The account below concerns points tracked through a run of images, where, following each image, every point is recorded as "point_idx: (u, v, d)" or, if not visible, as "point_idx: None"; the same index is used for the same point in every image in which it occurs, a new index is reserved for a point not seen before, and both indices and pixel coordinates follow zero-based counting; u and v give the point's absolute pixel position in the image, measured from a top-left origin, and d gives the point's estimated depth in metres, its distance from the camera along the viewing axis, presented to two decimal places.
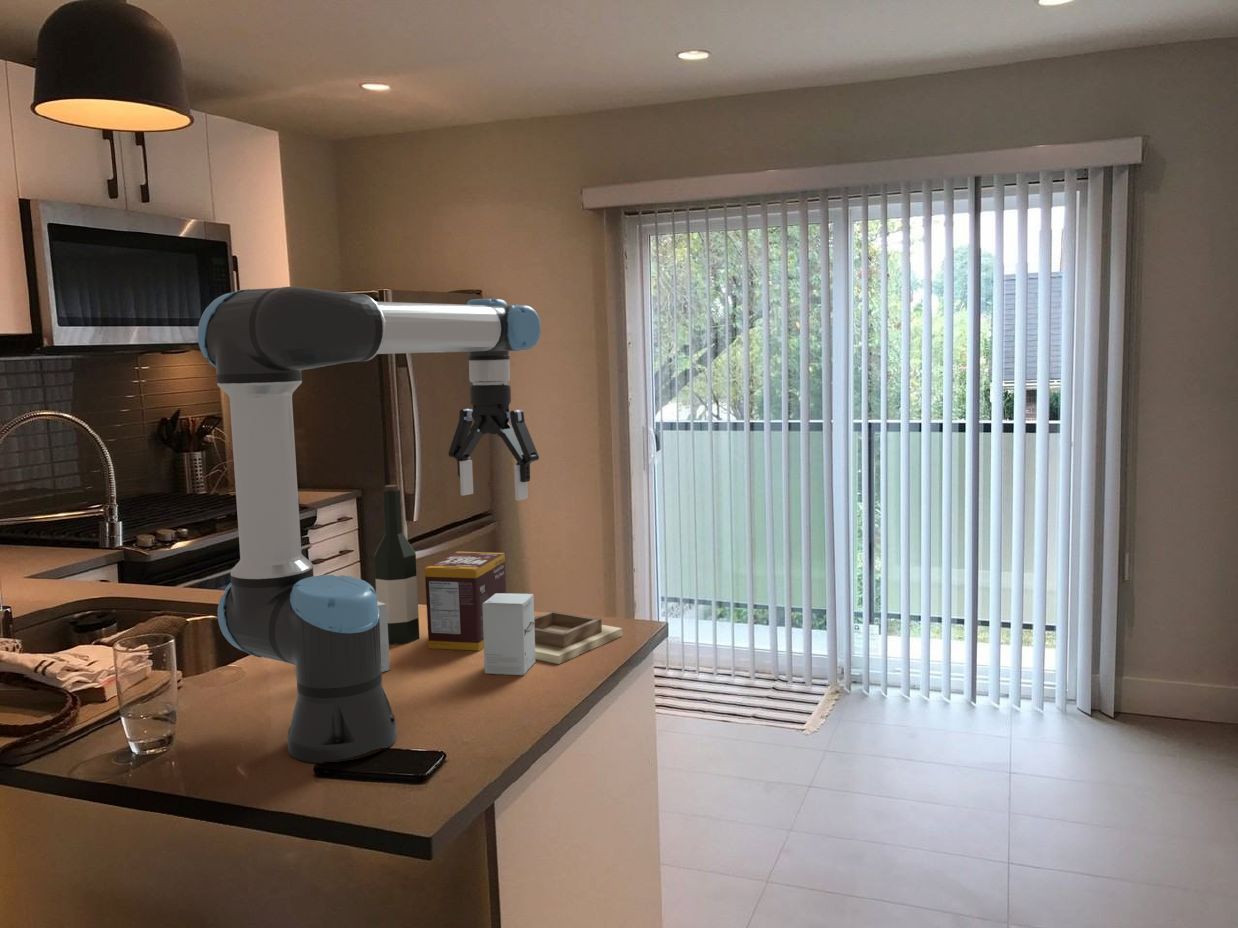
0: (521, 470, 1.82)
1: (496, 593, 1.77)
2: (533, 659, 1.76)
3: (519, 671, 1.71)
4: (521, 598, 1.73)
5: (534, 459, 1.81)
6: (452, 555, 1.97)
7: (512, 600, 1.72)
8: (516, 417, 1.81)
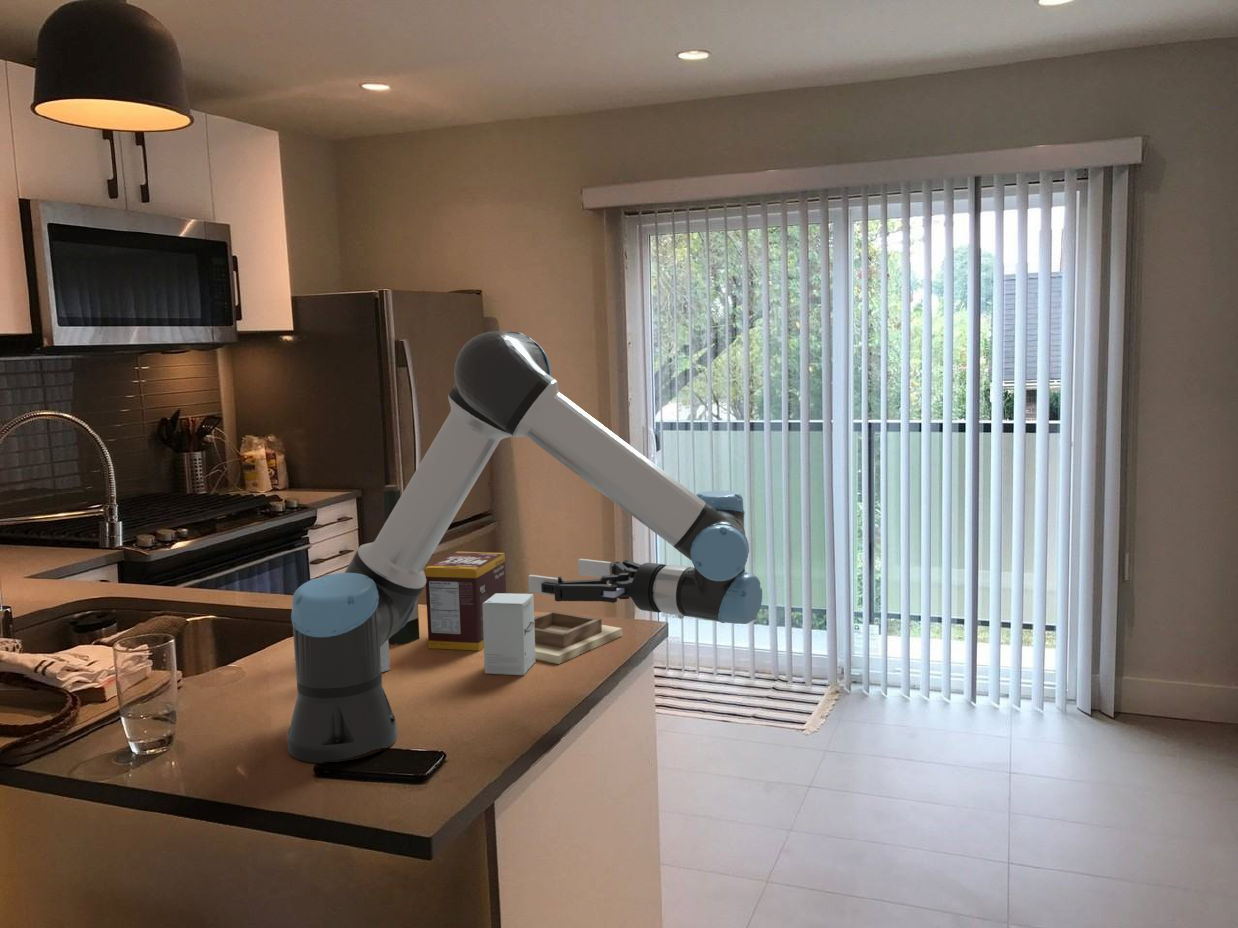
0: (553, 583, 1.58)
1: (496, 593, 1.77)
2: (533, 659, 1.76)
3: (519, 671, 1.71)
4: (521, 598, 1.73)
5: (554, 593, 1.54)
6: (452, 555, 1.97)
7: (512, 600, 1.72)
8: (606, 588, 1.53)
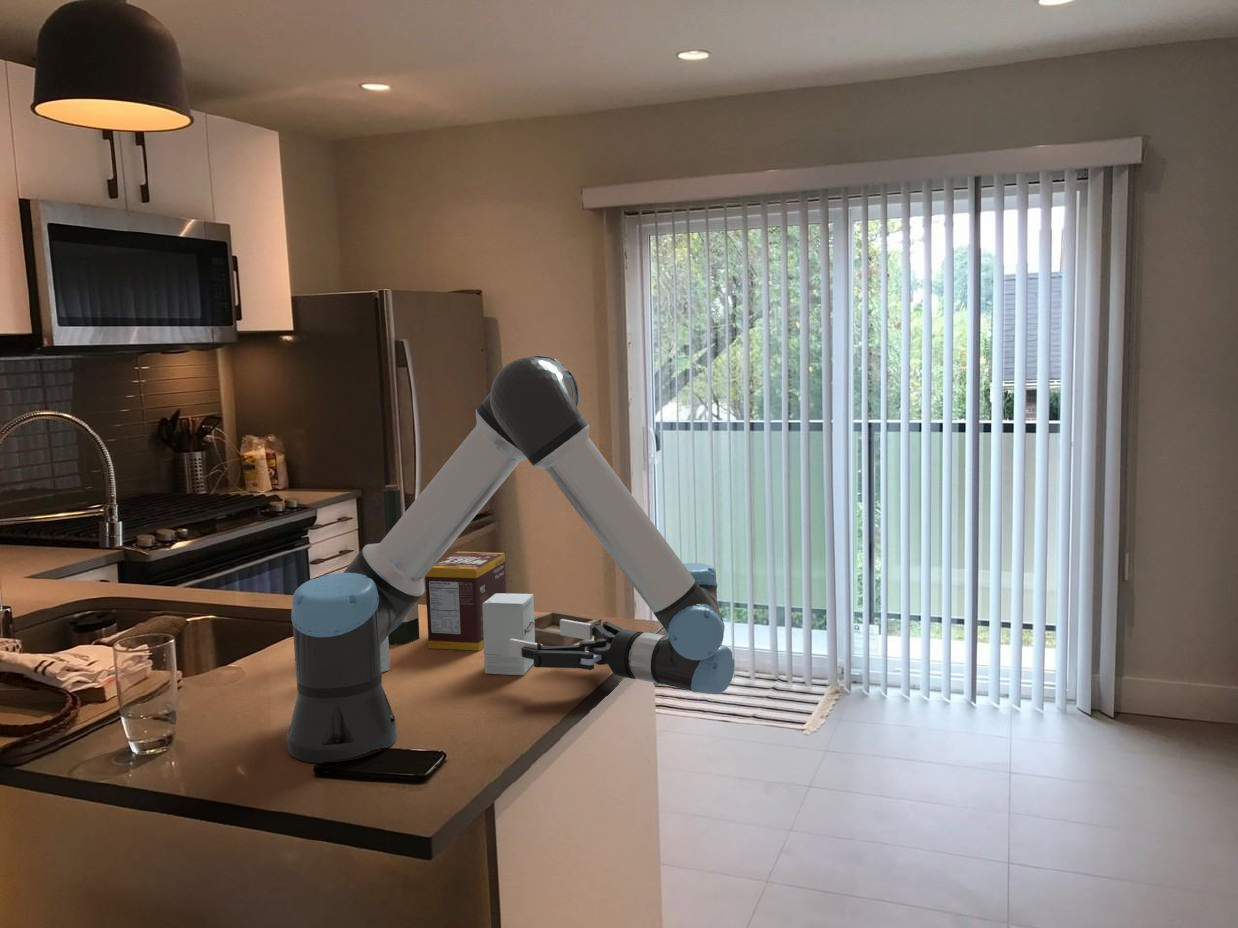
0: (533, 648, 1.62)
1: (496, 593, 1.77)
2: None
3: (519, 671, 1.71)
4: (521, 598, 1.73)
5: (533, 659, 1.59)
6: (452, 555, 1.97)
7: (512, 600, 1.72)
8: (584, 655, 1.57)
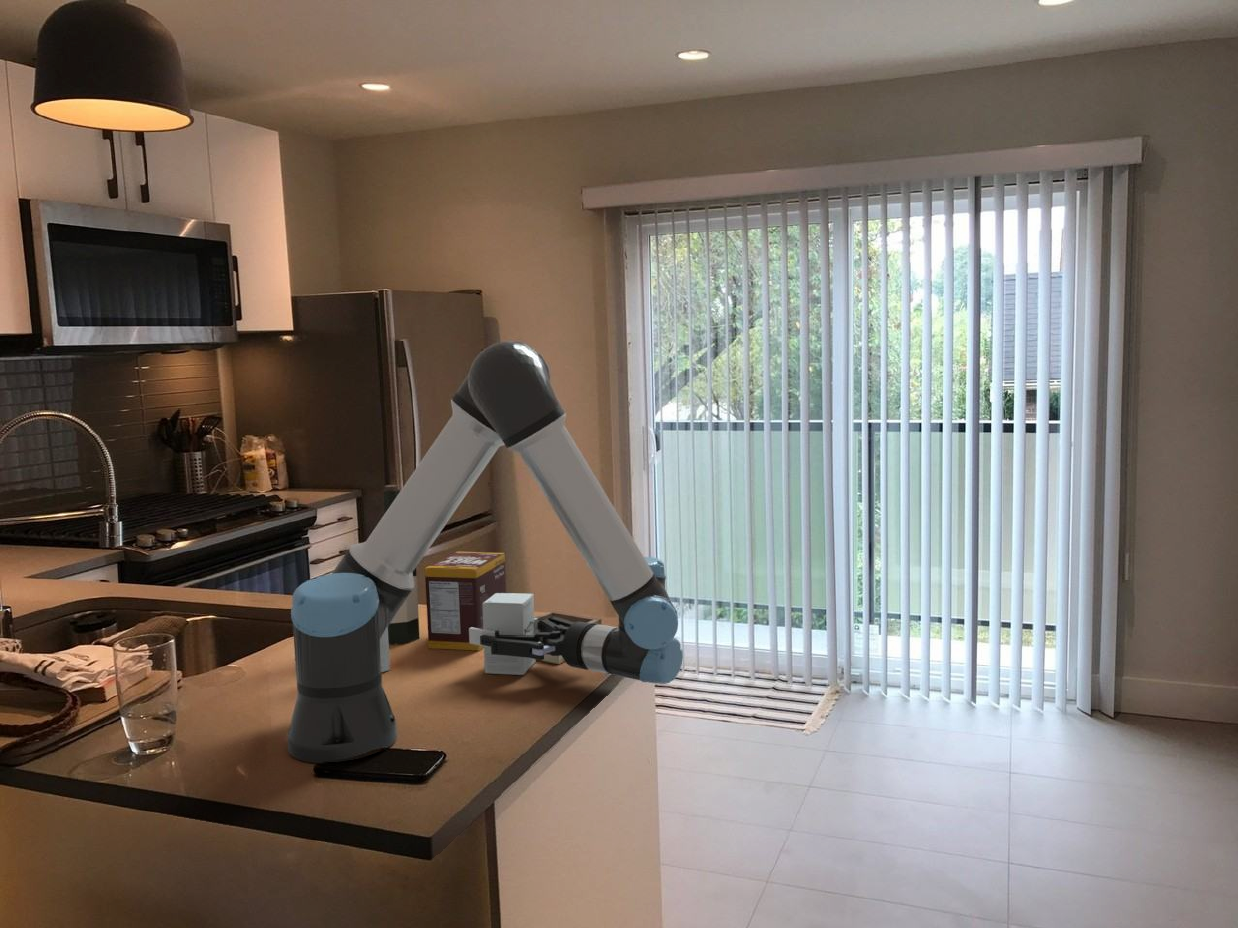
0: (491, 636, 1.69)
1: (496, 593, 1.77)
2: (533, 659, 1.76)
3: (519, 671, 1.71)
4: (521, 598, 1.73)
5: (491, 646, 1.66)
6: (452, 555, 1.97)
7: (512, 600, 1.72)
8: (534, 646, 1.62)
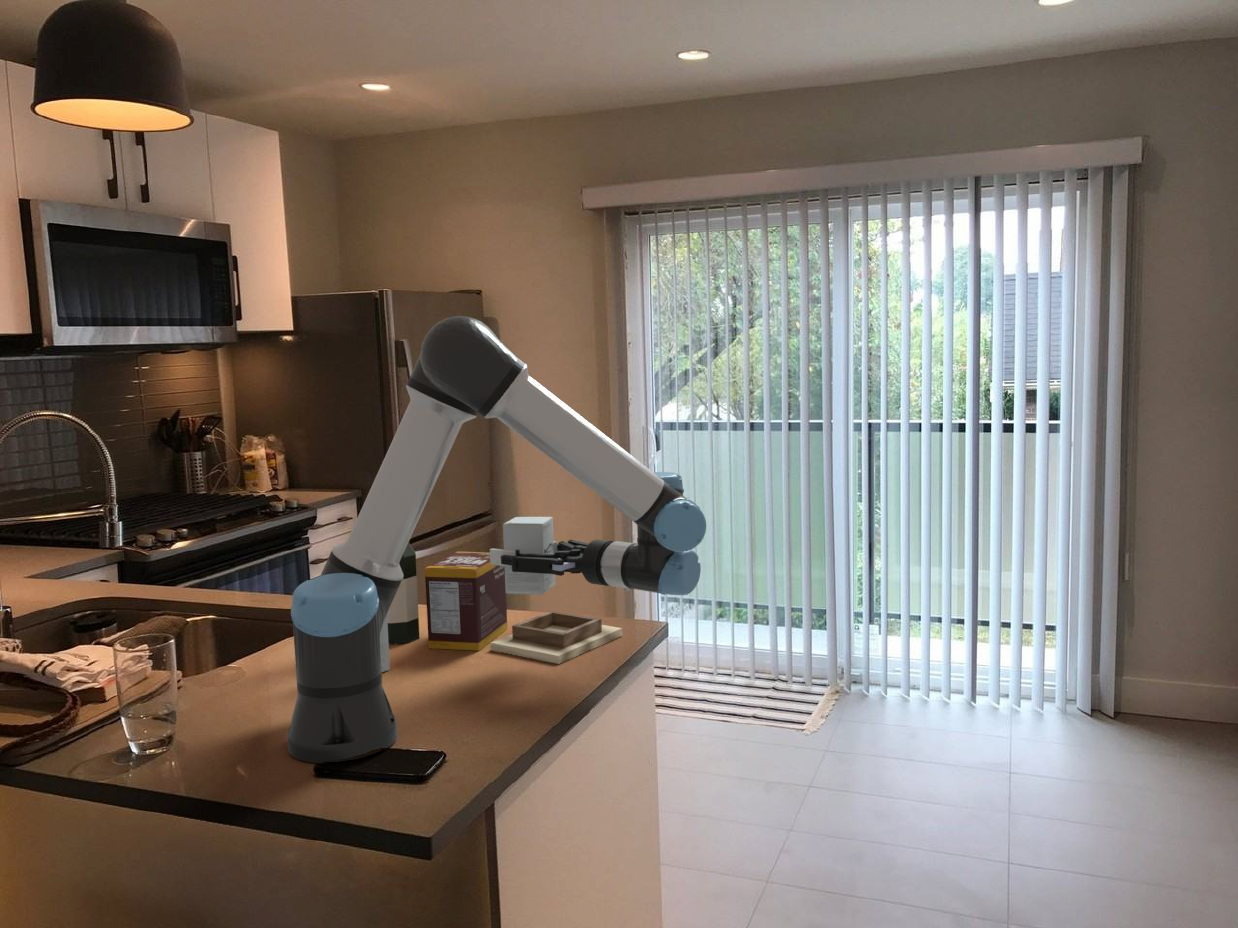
0: (511, 556, 1.72)
1: (516, 517, 1.80)
2: (553, 581, 1.79)
3: (540, 590, 1.73)
4: (541, 519, 1.75)
5: (511, 564, 1.69)
6: (452, 555, 1.97)
7: (532, 521, 1.74)
8: (554, 561, 1.65)
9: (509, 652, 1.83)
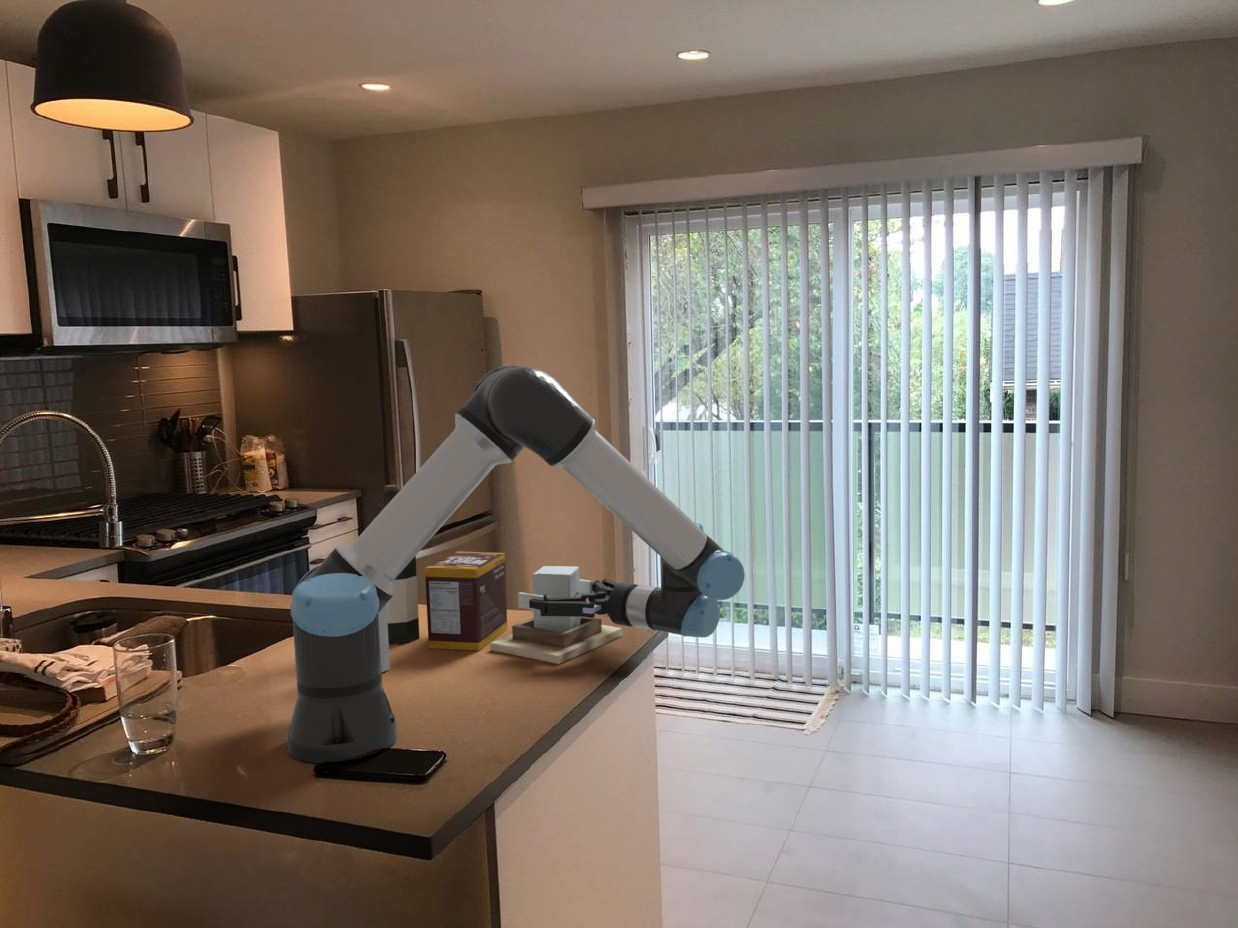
0: (540, 600, 1.81)
1: (544, 566, 1.92)
2: None
3: None
4: (568, 570, 1.87)
5: (540, 609, 1.77)
6: (452, 555, 1.97)
7: (560, 571, 1.86)
8: (585, 605, 1.76)
9: (509, 652, 1.83)
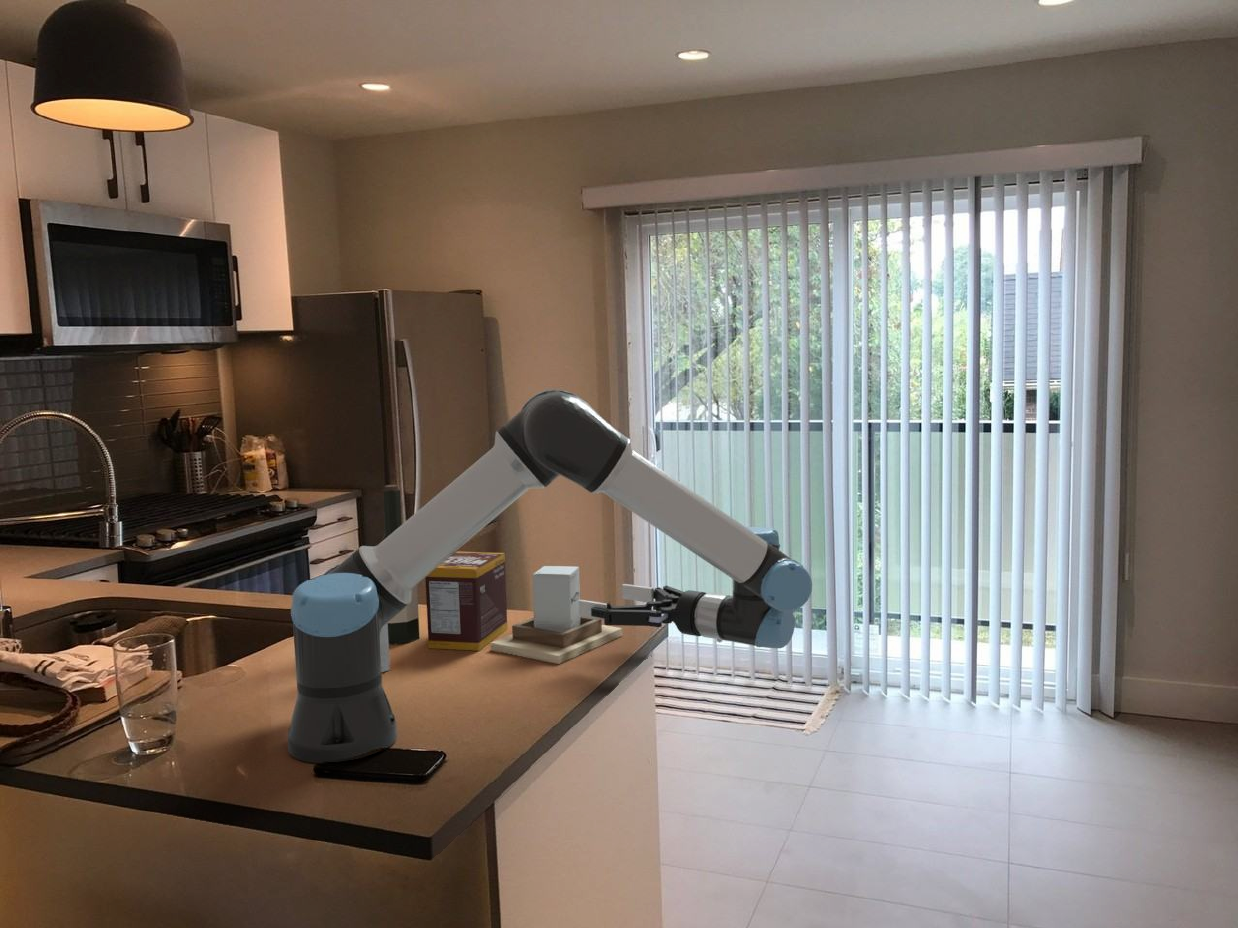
0: (602, 608, 1.72)
1: (544, 566, 1.92)
2: None
3: None
4: (568, 570, 1.87)
5: (604, 618, 1.69)
6: (452, 555, 1.97)
7: (560, 571, 1.86)
8: (652, 614, 1.68)
9: (509, 652, 1.83)
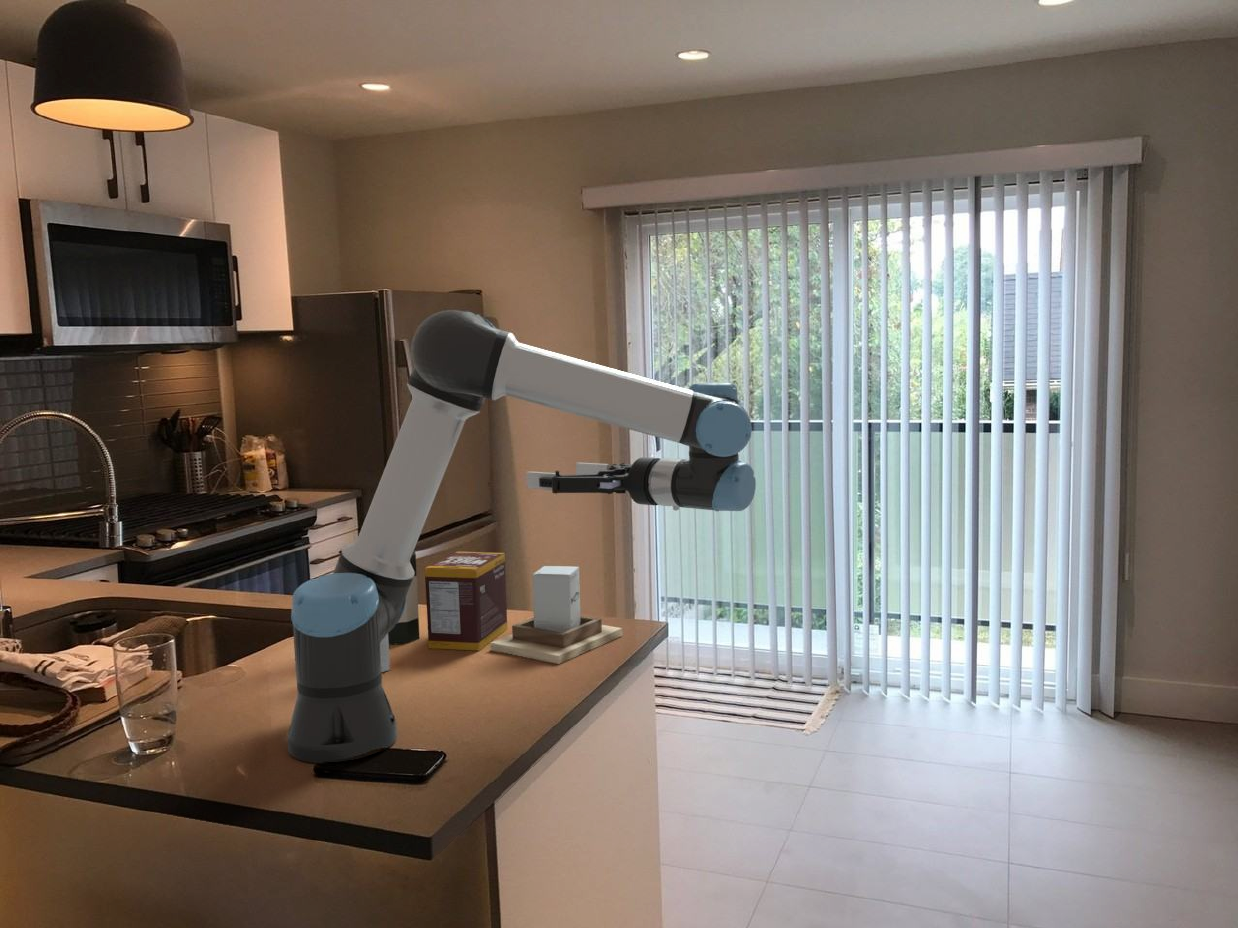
0: (551, 478, 1.61)
1: (544, 566, 1.92)
2: None
3: None
4: (568, 570, 1.87)
5: (552, 485, 1.57)
6: (452, 555, 1.97)
7: (560, 571, 1.86)
8: (603, 479, 1.56)
9: (509, 652, 1.83)
